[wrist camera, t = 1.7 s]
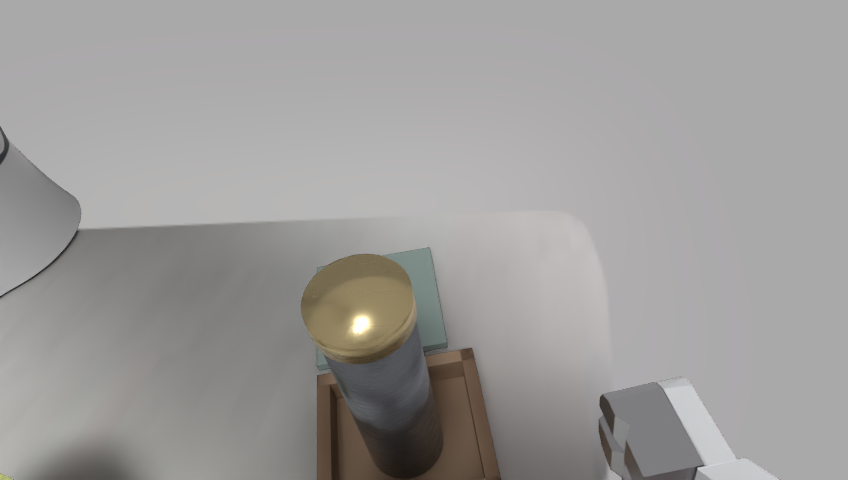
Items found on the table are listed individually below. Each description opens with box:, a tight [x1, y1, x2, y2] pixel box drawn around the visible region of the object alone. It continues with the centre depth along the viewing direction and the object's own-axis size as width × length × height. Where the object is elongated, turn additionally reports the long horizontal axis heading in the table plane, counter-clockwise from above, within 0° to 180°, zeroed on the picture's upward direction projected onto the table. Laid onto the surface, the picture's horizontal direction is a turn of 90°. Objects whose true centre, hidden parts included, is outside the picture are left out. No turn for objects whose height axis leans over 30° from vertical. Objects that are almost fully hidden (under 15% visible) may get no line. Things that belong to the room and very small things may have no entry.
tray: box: [317, 348, 501, 480], centre depth 35 cm, size 10×9×2 cm
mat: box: [317, 247, 448, 370], centre depth 43 cm, size 9×9×1 cm
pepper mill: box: [301, 254, 443, 479], centre depth 30 cm, size 5×5×14 cm
